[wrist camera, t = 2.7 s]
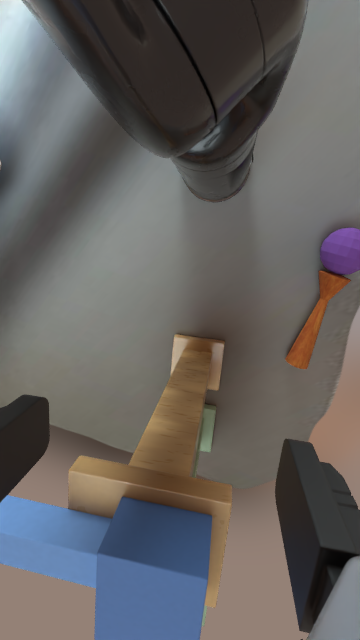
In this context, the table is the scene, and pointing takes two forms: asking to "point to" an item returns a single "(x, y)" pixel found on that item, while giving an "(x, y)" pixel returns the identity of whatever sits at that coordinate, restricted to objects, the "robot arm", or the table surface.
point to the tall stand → (166, 455)
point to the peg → (119, 562)
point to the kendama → (327, 288)
